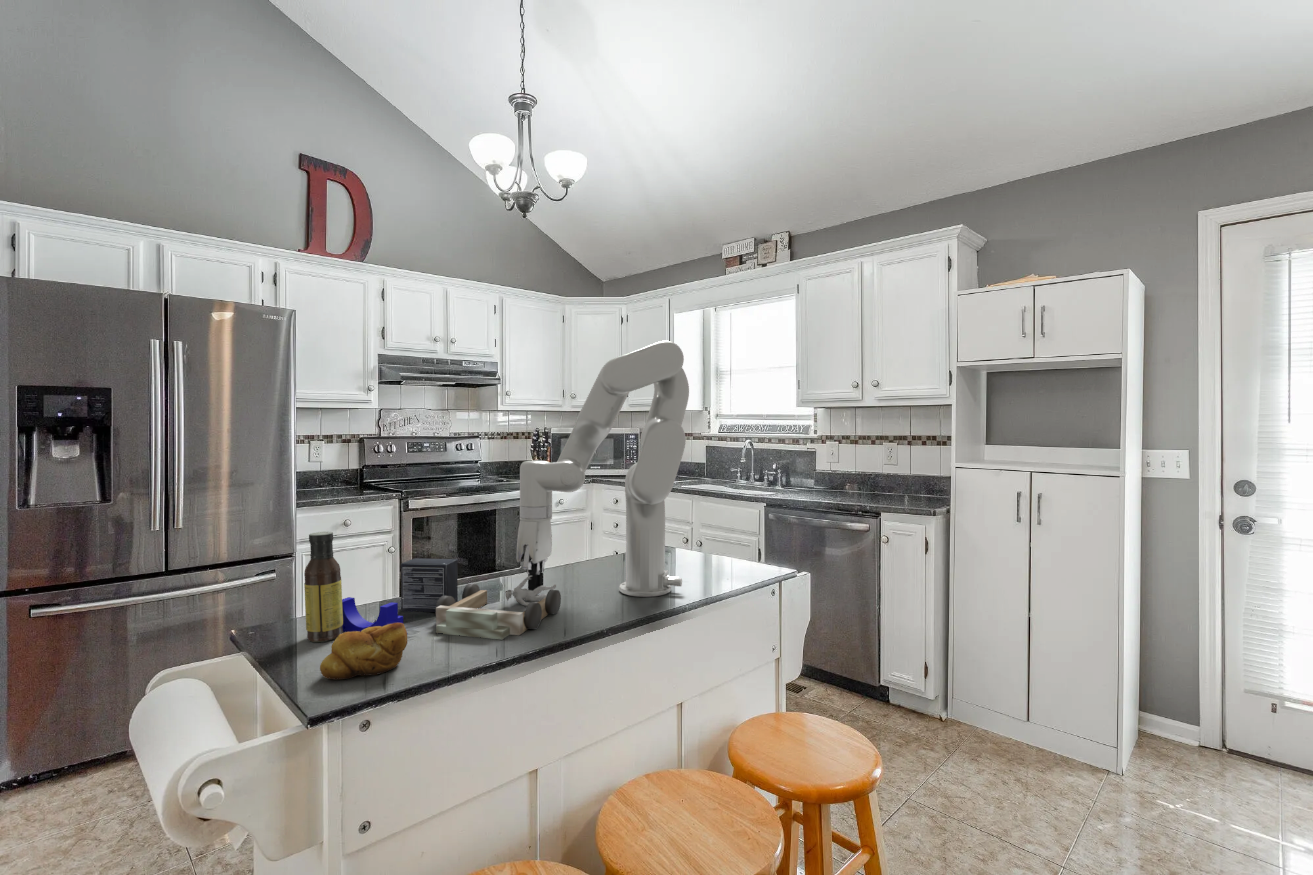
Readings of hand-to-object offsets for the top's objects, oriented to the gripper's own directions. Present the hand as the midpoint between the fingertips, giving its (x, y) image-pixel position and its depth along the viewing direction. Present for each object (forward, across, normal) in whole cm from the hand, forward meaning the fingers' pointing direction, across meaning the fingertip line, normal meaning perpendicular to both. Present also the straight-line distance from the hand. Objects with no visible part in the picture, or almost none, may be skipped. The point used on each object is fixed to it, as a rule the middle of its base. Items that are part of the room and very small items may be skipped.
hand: (535, 589), depth 149 cm
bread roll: (+2, +49, -7) cm, 50 cm away
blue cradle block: (+2, +32, -20) cm, 38 cm away
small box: (+2, +16, -18) cm, 24 cm away
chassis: (+1, +20, 0) cm, 20 cm away
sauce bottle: (+2, +38, -25) cm, 46 cm away
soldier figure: (+2, +6, +2) cm, 6 cm away
